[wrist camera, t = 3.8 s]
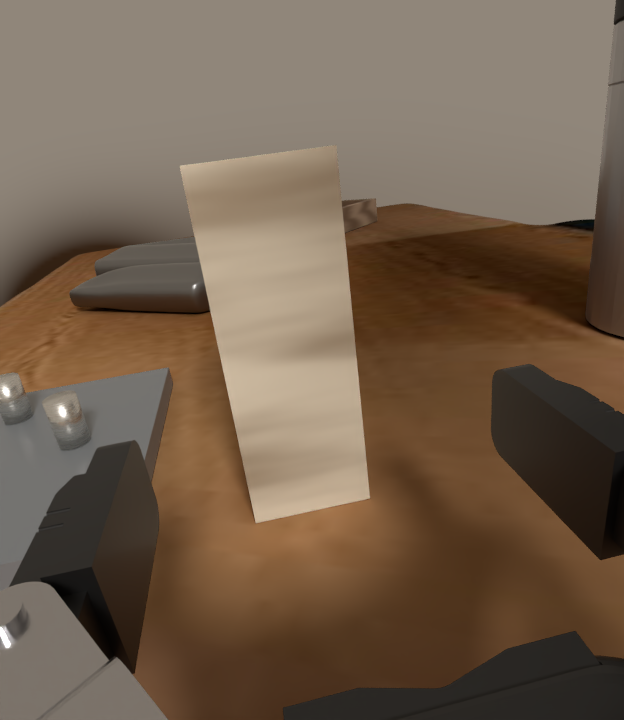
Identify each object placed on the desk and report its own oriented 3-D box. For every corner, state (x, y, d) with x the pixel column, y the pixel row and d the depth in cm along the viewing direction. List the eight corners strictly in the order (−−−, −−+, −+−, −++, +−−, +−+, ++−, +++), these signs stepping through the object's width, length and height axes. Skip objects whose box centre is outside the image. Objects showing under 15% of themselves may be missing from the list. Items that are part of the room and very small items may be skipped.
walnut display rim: (294, 223, 102) (291, 203, 100) (377, 220, 90) (375, 198, 89) (226, 244, 87) (221, 221, 85) (315, 244, 76) (312, 217, 74)
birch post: (249, 458, 23) (189, 166, 18) (343, 439, 24) (310, 149, 19) (255, 523, 19) (179, 165, 14) (370, 498, 19) (335, 144, 14)
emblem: (25, 288, 44) (107, 241, 70) (45, 343, 46) (118, 278, 72) (330, 244, 46) (301, 214, 71) (336, 299, 48) (306, 251, 73)
